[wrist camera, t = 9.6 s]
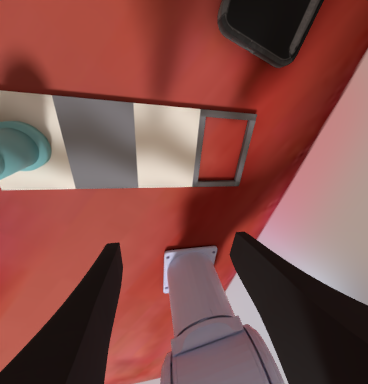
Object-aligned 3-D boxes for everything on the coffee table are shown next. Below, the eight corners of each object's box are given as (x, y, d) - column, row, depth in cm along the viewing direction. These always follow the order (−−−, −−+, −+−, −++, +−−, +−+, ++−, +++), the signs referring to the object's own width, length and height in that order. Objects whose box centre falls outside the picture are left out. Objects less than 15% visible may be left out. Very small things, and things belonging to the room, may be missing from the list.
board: (237, 184, 20) (238, 186, 19) (5, 188, 15) (2, 190, 14) (254, 114, 16) (257, 114, 16) (-44, 86, 11) (-50, 85, 11)
